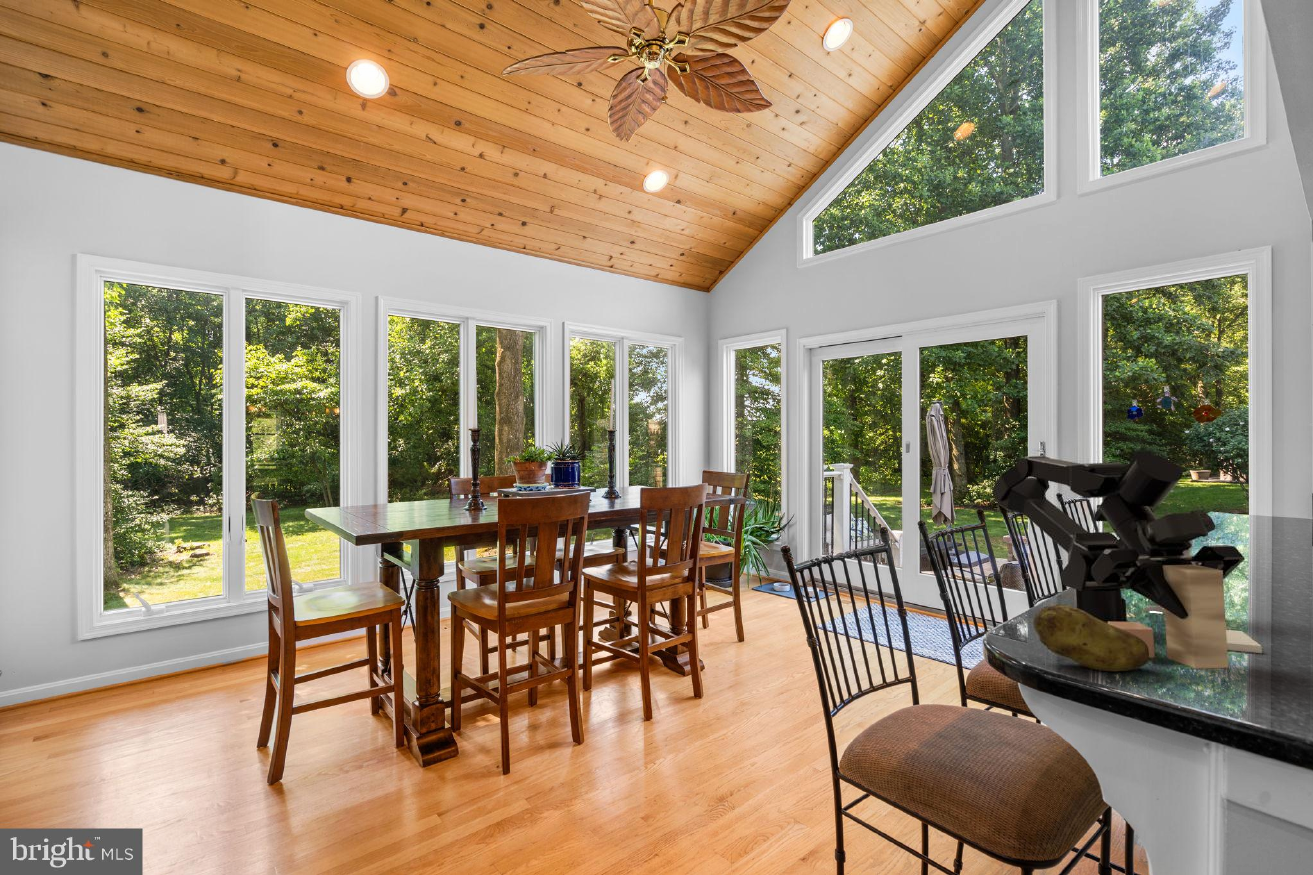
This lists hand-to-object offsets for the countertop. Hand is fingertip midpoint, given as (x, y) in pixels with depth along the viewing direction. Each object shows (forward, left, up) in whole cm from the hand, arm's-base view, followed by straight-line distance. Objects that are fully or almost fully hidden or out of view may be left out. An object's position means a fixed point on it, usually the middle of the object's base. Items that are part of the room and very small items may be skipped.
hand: (1203, 616), depth 85 cm
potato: (-14, -6, -7) cm, 16 cm away
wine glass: (+2, +32, -7) cm, 33 cm away
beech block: (-1, +1, -7) cm, 7 cm away
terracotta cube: (-8, +3, -7) cm, 11 cm away
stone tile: (+4, +13, -7) cm, 15 cm away
